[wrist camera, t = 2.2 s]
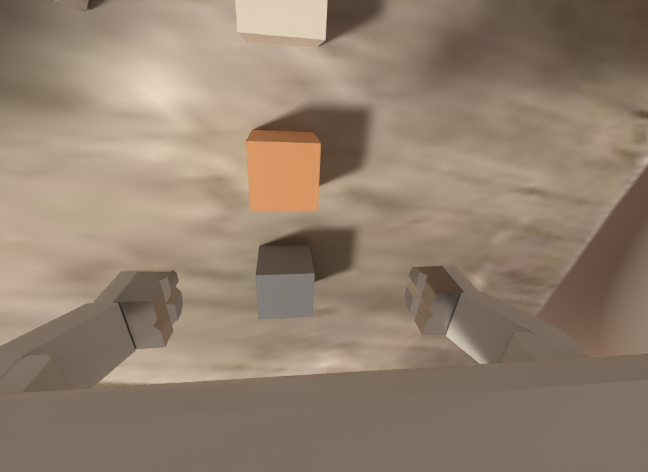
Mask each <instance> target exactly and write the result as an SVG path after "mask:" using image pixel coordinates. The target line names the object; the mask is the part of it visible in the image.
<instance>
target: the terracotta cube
mask: <svg viewBox="0 0 648 472" xmlns="http://www.w3.org/2000/svg"><path fill="white" fill-rule="evenodd" d="M246 149H247V163H248V176H249V190H250V204H251V211H318V195H319V174H320V154H321V143H320V141H319V139H318V138H317V136H316V135H315V133H314V132H301V131H274V130H252V131H251V133H250V135H249V137H248V138H247V140H246Z"/></svg>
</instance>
